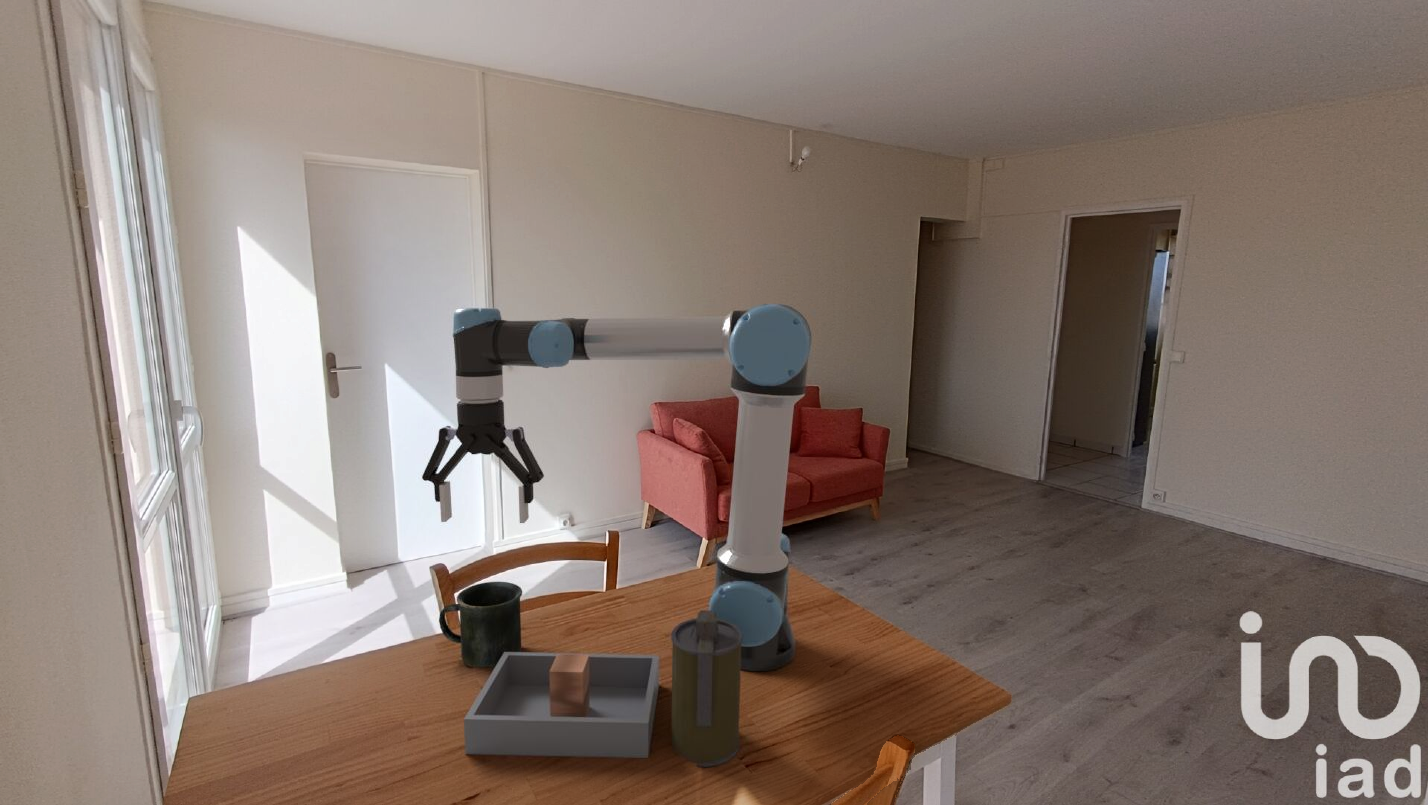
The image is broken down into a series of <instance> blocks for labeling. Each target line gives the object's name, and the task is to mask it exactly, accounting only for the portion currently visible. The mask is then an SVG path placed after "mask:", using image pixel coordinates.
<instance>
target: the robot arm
mask: <svg viewBox="0 0 1428 805" xmlns="http://www.w3.org/2000/svg"><path fill="white" fill-rule="evenodd" d="M452 329H453V331H452V332H453V333H452V337H453V345H454V347H453V348H454V361H455V394H456V398H457V399H458V400H459V401H458V402H457V403H456V413H457V414H456V415H457V428H454V427H451V426H450V425H446V426H444V427H442V428H440V429H439V431H438V440H437V443H436V445H435V447H434V448H433V452H432V454H431V456H430V458H429V460H428V463H427V464H426V468H425V469H424V472H423V474H422V475H421V476H422V477H421V478H422V480H423V481H425V482H426V481H429V482H431V483H432V484H433V487H434V499H435V502H437V503H439V506H440V522H441V523H447V522H448V521H449V520H450V519H451V518H453V513H452V511H453V510H452V496H451V494H452V493H451V492H452V489H451V480H446V479H447V478H448V477H449V475H450V474H451V473H452V472H453V471H454V470H455V468H456V467H457V466H458V464H460V462H461V460H462V459H463V458H464V457H465V456H466V455H467V454H468V453H470V454H471V455H479V454H481V455H489V456H490V455H491V454H494V456H496V457H497V458H499V459H500V460H501V461H502V462H503V464H504V465H506V467H507V468H508V469H509V470H510V471H511V472H512V473H513V474H514V476H516V478H517V479H518V481H519V482H520V485H519V486H518V511H519V513H518V514H519V524H525V523H526V522H527V521H528V519H529V517H530V516H529V504H531V503H533V501H534V484H536V483H539V482H541V481H542V480H543V478H544V477H545V474H544V473H543V470H542V468H541V466H540V465H539V463H538V461H537V459H536V458H535V456H534V454H533V452H532V450H531V447H530V446H529V444H528V442H527V441H526V438H525V437H526V436H525V431H524V428H523V427H522V426H518V427H516V428H510V429H507V428H506V426H505V403H504V401H503V399H501V398H502V397H503V396H504V383H503V382H504V381H503V380H504V379H503V378H504V376H503V368H504V366H505V367H506V366H507V367H508V366H509V367H510V366H515V367H516V366H518V367H538V368H544V369H549V368H561V367H562V368H563V367H565V366H566V365H568V364H569V362H570V361H593V360H598V361H600V360H601V361H602V360H603V361H604V360H608V361H611V360H614V361H615V360H617V361H620V360H622V361H623V360H625V361H627V360H628V361H631V360H634V361H635V360H636V361H638V360H639V361H641V360H642V361H643V360H644V361H647V360H648V361H651V360H652V361H654V360H657V361H658V360H660V361H669V360H670V361H671V360H672V361H678V360H679V361H681V360H682V361H688V360H689V361H696V360H697V361H701V360H702V361H703V360H704V361H707V360H708V361H709V360H710V361H711V360H712V361H723V360H724V361H727V362H728V363H729V364H730V365H732V366H731V378H730V380H731V381H730V390H731V391H732V393H733V394H734V395H735V396H736V398H737V399H738V409H737V410H738V412H737V413H738V414H737V425H736V433H735V434H736V436H735V446H734V447H735V448H734V450H735V451H734V460H733V470H732V472H733V473H732V484H731V497H730V508H729V520H728V533H727V537H726V543H725V544H724V545H723V546H722V547H720V548H719V549H718V551H717V553H716V554H717V555H716V563H715V564H716V565H715V577H714V587H713V588H714V589H713V593H712V594H711V596H710V599H709V602H708V611H716V613H717V618H719V619H722V620H725V621H728V622H731V623H733V624H734V625H736V626H737V627H738V628H739V629H740V630H741V632H742V634H743V641H742V643H741V670H743V671H750V672H767V671H774V670H778V669H781V668H783V667H785V666H787V665H788V664H790V663H791V662H792V660H793V659H794V658H795V654H796V639H795V635H794V632H793V631H794V630H793V627H792V625H791V622H790V617H789V614H788V603H789V602H788V601H789V600H788V599H789V578H790V574H789V573H790V557H791V556H790V554H791V553H792V552H791V551H792V550H791V547H790V546H791V543H790V538H789V537H788V536H787V535H786V534H784V533H783V532H782V530H783V523H784V513H785V512H784V510H785V499H786V491H787V481H788V480H787V479H788V471H789V458H790V449H791V439H792V430H793V428H792V427H793V419H794V418H793V417H794V409H795V408H794V406H795V404H796V403H797V402H799V401H800V400H801V399H802V398H803V397H805V394H806V386H807V377H808V367H809V365H808V364H809V357H810V352H811V347H812V330H811V327H810V325H809V323H808V321H807V319H806V318H805V317H804V316H803V314H802V313H800V312H799V310H797V309H795V308H793V307H792V306H789V305H786V304H781V303H774V302H773V303H763V304H758V305H756V306H754V307H752V308H750V309H743V310H731V311H730V313H728V314H727V315H726V316H681V317H679V316H678V317H673V316H672V317H671V316H670V317H666V316H665V317H620V318H619V317H617V318H616V317H615V318H613V317H612V318H611V317H610V318H609V317H608V318H606V317H605V318H574V317H568V318H567V317H564V318H559V319H543V320H541V319H540V320H505V319H502V315H501V311H500V310H499V309H498V308H495V307H494V308H489V307H460V308H458V309H456V310H455V311H454V313H453V328H452ZM455 437H456V438H457V439H458V441H459V442H460V443H461V445H459V447H458V448H457V449H456V450H455V451H454V453H453V455H452V456H451V457H450V458H449V460H448V461H447V462H446V463H445V464H444V465H443V466H442V468H441V469H440V470H439V467H440V466H441V463H442V461H443V458H445V457H444V456H445V455H446V452H447V450H448V447H449V445H450V444H451V441H452V440H453V439H454V438H455ZM507 437H508V438H509V440H510V441H511V442H512V443H513V445H514V446H515V449H516V451H517V452H518V454H519V456H520V458H521V460H522V462H523V464H524V465H523V464H522V463H521V462H520V461H519V460H518V458H517V457H516V456H515V455H514V454H513V453H512V452H511V450H510V448H509V446H508V445H507V444H506V443H505V442H504V441H505V440H506V439H507ZM438 470H439V472H438ZM437 472H438V473H437Z"/></svg>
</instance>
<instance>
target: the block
mask: <svg viewBox="0 0 1428 805" xmlns="http://www.w3.org/2000/svg"><path fill="white" fill-rule="evenodd" d="M589 654H590V653H580V654H557V656H556V658H555V660H554V662H553V665H552V667H551V669H550V671H549V676H550V717H587V714H588V710H589V707H590V699H589Z"/></svg>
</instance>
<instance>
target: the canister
mask: <svg viewBox="0 0 1428 805" xmlns="http://www.w3.org/2000/svg"><path fill="white" fill-rule="evenodd" d="M670 634H671V635H670V640H671V642H672V650H671V651H672V652H671V653H672V660H671V662H672V663H671V664H672V665H671V666H672V667H671V668H672V669H671V670H672V671H671V672H672V673H671V740H670V741H671V746H672V747H673V749H674V751H675V752H676V754H678V755H679V756H680V757H681V758H684V759H686V760H688V761H690V762H695V763H696V767H701V768H707V767H715V766H716V767H717V766H720V765H723V764H725V763H727V762H729V761H730V760H732V759H733V758H734V757H735V756H736V755H737V753H738V752H739V750H740V746H741V743H740V742H741V740H740V737H739V732H740V731H739V727H740V701H741V700H740V699H741V695H740V694H741V670H742V669H741V643H742V641H743V634H742V632H741V630H740V629H739V628H738V627H737V626H736V625H734V624H733V623H731V622H728V621H725V620H722V619H719V618H717V613H716V611H709V610H704V609H703V610H700V611H699V612H698V613H697V616H696V618H690V619H687V620H684V621H682V622H680V623H678V624H677V625H676V626H675V627H673V629H672V630H671V633H670Z"/></svg>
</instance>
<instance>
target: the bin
mask: <svg viewBox="0 0 1428 805" xmlns="http://www.w3.org/2000/svg"><path fill="white" fill-rule="evenodd" d="M557 654H581V653H577V652H575V653H574V652H571V653H570V652H525V651H524V652H522V651H521V652H504V653H503V655H502V657H501V658H500V660H499V662H498V663H497V665H496V666H494V668H493V670H492V671H491V674H490V675H489V676H488V679H487V680H486V682H485V684H484V685H483V686H482V688H481V690H480V691H479V693H478V695H477V697H476V698H475V700H474V702H473V704H472V705H471V706H470V709H469V710H468V712H467V713H466V715H465V717H464V718H463V728H464V729H463V731H464V753H465V755H487V756H488V755H489V756H529V757H530V756H531V757H532V756H534V757H537V756H538V757H578V758H579V757H580V758H581V757H583V758H584V757H586V758H629V759H630V758H631V759H634V758H635V759H637V758H638V759H649V756H650V755H649V754H650V748H651V741H652V735H653V734H652V733H653V727H654V726H653V725H654V720H655V715H656V714H655V713H656V707H657V699H658V692H659V687H660V655H659V654H620V653H619V654H618V653H614V654H613V653H588V654H589V699H590V707H589V710H588V714H587V717H550V676H549V671H550V669H551V667H552V665H553V662H554V660H555V658H556V656H557Z"/></svg>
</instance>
